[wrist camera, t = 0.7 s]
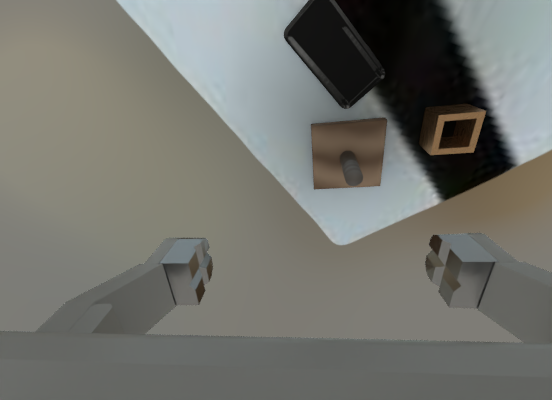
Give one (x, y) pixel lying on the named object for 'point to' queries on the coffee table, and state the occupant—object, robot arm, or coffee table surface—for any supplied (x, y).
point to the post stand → (348, 153)
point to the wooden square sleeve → (463, 132)
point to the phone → (334, 51)
